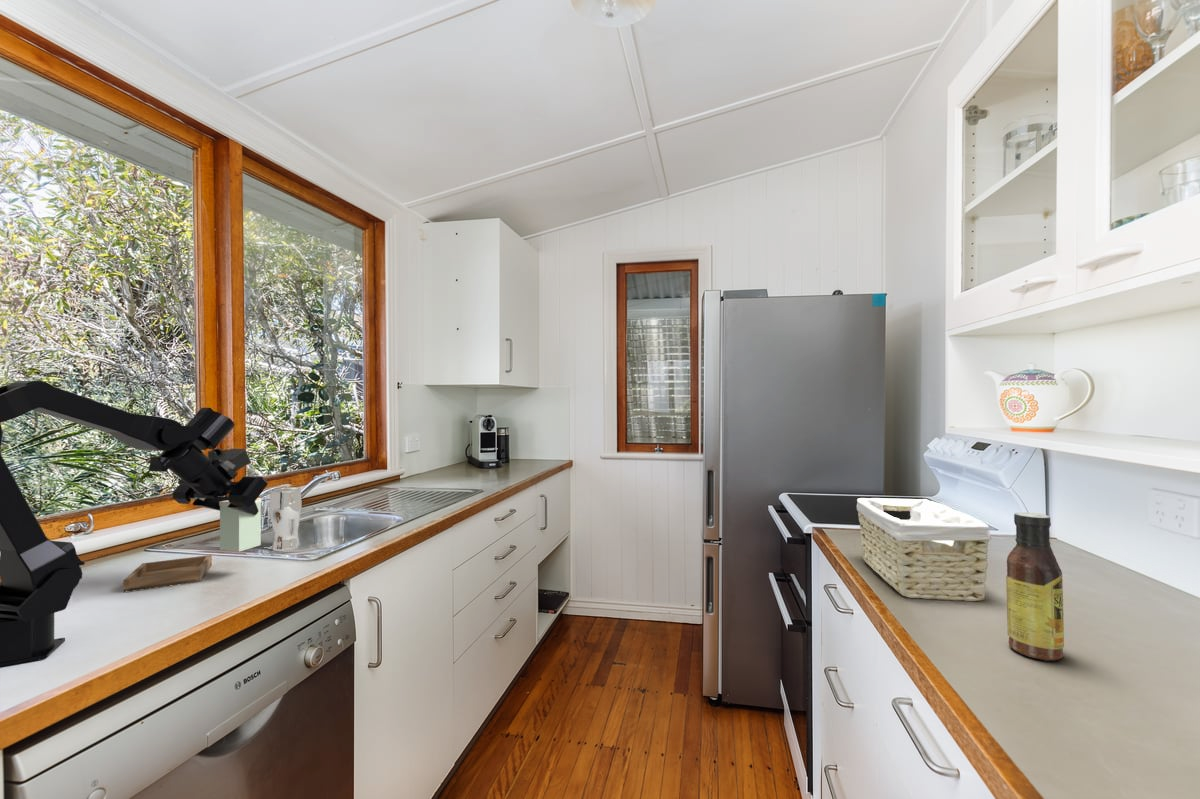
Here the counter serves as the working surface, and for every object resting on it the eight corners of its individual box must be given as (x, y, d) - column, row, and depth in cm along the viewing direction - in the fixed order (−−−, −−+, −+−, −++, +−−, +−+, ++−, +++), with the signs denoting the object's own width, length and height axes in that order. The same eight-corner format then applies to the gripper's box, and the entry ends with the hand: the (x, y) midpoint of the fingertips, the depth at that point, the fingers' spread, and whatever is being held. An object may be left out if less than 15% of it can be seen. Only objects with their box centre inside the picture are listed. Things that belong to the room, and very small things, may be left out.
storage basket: (996, 606, 90) (995, 523, 90) (897, 601, 92) (897, 520, 92) (931, 564, 113) (930, 498, 113) (854, 560, 116) (853, 496, 116)
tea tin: (239, 551, 104) (239, 502, 104) (219, 550, 105) (219, 501, 105) (261, 544, 109) (261, 498, 109) (242, 543, 110) (242, 497, 110)
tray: (200, 581, 105) (200, 570, 105) (123, 592, 99) (123, 580, 99) (211, 565, 115) (211, 554, 115) (142, 574, 109) (142, 563, 109)
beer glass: (286, 552, 125) (286, 492, 125) (262, 551, 126) (262, 491, 126) (308, 544, 132) (307, 487, 132) (285, 543, 133) (285, 486, 133)
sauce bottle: (1069, 667, 69) (1067, 522, 69) (1010, 655, 72) (1009, 516, 72) (1058, 647, 74) (1056, 513, 74) (1004, 637, 78) (1002, 508, 78)
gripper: (259, 437, 101) (304, 483, 112) (187, 436, 106) (236, 480, 116) (221, 482, 94) (273, 527, 104) (145, 479, 98) (202, 522, 109)
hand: (246, 512), depth 109 cm, fingers closed on tea tin, 5 cm apart
